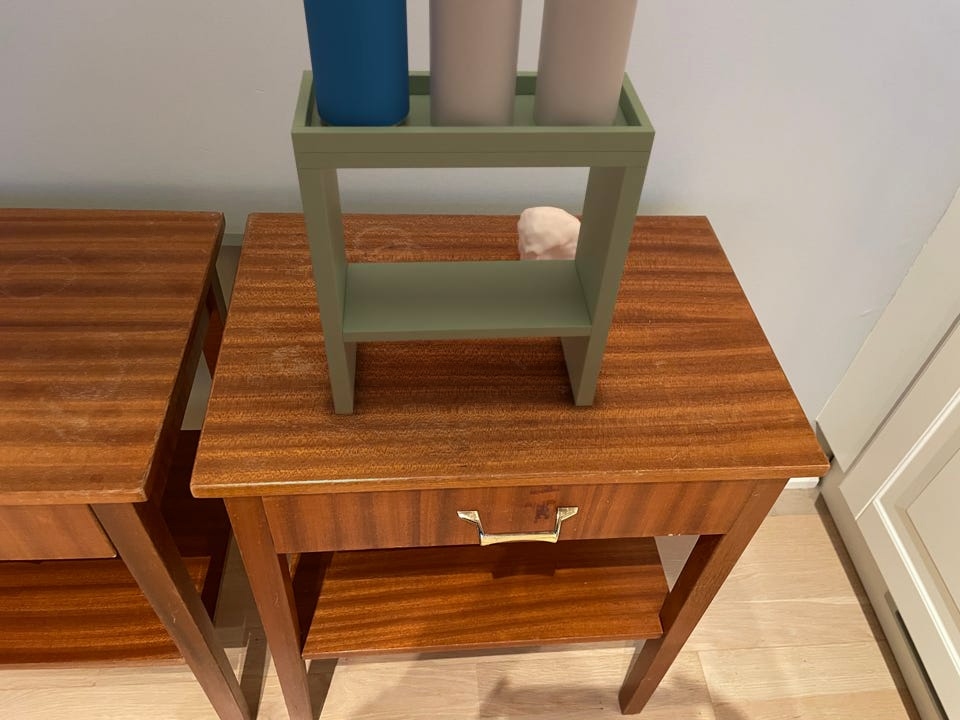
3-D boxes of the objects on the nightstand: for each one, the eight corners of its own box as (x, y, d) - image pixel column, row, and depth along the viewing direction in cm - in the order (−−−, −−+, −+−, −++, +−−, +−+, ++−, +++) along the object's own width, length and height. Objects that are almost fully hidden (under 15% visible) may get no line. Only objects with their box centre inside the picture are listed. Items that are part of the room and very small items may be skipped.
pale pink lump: (518, 193, 79) (622, 198, 81) (505, 255, 85) (603, 259, 87) (528, 227, 75) (638, 232, 77) (514, 290, 81) (616, 293, 83)
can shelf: (296, 169, 49) (262, -44, 40) (308, 104, 56) (281, -93, 46) (647, 166, 51) (695, -36, 42) (620, 104, 58) (655, -84, 48)
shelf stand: (335, 414, 68) (296, 169, 49) (340, 345, 74) (308, 104, 56) (591, 405, 70) (647, 166, 51) (575, 338, 76) (620, 104, 58)
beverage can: (428, 123, 52) (426, -64, 43) (352, 152, 49) (334, -44, 40) (375, 89, 55) (363, -91, 47) (301, 114, 52) (273, -74, 43)
